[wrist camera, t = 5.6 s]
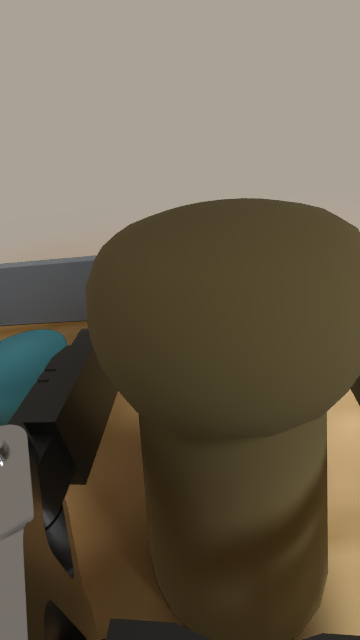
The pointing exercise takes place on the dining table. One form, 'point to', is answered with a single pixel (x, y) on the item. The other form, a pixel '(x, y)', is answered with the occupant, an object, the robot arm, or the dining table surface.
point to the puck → (24, 366)
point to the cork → (233, 398)
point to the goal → (44, 291)
